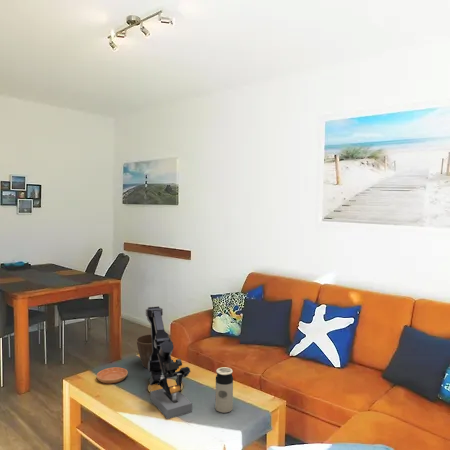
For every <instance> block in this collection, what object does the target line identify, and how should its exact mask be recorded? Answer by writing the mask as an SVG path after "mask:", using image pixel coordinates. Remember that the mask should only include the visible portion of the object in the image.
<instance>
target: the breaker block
mask: <svg viewBox="0 0 450 450" xmlns="http://www.w3.org/2000/svg"><path fill="white" fill-rule="evenodd" d="M171 386H172V385H171ZM171 386H170V385H169V387H171ZM149 396H150V401H151V402H152V404H154V406H155V407H156V408H157V409H158V410H159V411H160V412H161V414H162V415H163V416H164V417H165V419H166V420H169V419H173V418H176V417H179V416H182V415H186V414H189V413H193V403H192V402H191V401H190V400H189V399H188V398H187V397H186V396H185V395H184V394H183V393H182V392H181V393H180V392H177V393H176V403H173V402H172V394H171V395H170V396H169V394H168V393H167V392H166V391H165V390H164V389H163V388H162V387H161V388H159V389H155V390H151V391H150V395H149Z"/></svg>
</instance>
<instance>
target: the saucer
mask: <svg viewBox="0 0 450 450" xmlns="http://www.w3.org/2000/svg"><path fill="white" fill-rule="evenodd" d="M128 372H129V371H128V370H127V369H126V368H123V367H114V366H113V367H108V368H107V367H106V368H104V369H102V370H100V371H98V372H97V373H96V378H97V380H98V381H99V382H101V383H103V384H107V385H108V384H110V385H111V384H117V383H120V382H122V381H124V379H126V377H127V376H128Z"/></svg>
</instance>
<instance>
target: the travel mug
mask: <svg viewBox="0 0 450 450" xmlns="http://www.w3.org/2000/svg"><path fill="white" fill-rule="evenodd" d="M215 372H216V376H215V405H214V406H215V410H216V412H219V413H221V414H222V413H223V414H224V413H229V412H231V411H232V410H233V408H234V376H233V372H234V371H233V369H232V368H231V367H225V366H224V367H218V368H217V369H216V371H215Z"/></svg>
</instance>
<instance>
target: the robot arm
mask: <svg viewBox="0 0 450 450" xmlns="http://www.w3.org/2000/svg"><path fill="white" fill-rule="evenodd" d="M163 310H164V309H163V308H162V307H160V306H148V307H147V309H145V316H146V319H147V321H148V323H149V324H150V335H151V339H152V354H151V356H150V360H149V362H148V368H147V370H148V372H149V373H150V378H148V381H149V385H150V386H155V385H157V386H160V387H161V389H162V388H163V389H164V390H165V391H166V392H167V393H168V394H169V396H170V395H171V393H170V389H169V387H170V385H169V384H168V379H170V378H174V377H175V383H176V384H175V385H179V386H180V393H182V383H183V378H186V377H188V376H189V374H190V373H191V368H190V367H189V366H184V367H182V365H183V362H182V360H181V358H178V359H175V361H174V360H173V359H172V356H171V355H172V353H173V350H174V344H173V343H174V342H173V341H172V340H171V338H170V337H169V334H168V333H167V332H166V331H165V326H164V321H163V315H164V314H163V313H164V312H163ZM178 369H179V370H178ZM177 370H178V371H177Z"/></svg>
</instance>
